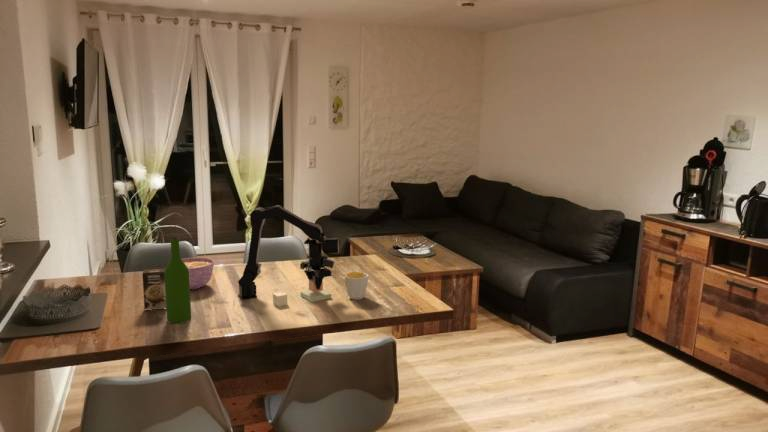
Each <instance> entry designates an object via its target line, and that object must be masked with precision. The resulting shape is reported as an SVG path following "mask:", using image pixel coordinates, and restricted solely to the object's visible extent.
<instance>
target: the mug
mask: <svg viewBox="0 0 768 432" xmlns="http://www.w3.org/2000/svg"><path fill="white" fill-rule="evenodd" d="M344 277H345V287H346V291H347V296H348V297H349V299H351V300H354V301H355V300H356V301H359V300H363V299H364V297H365V296H367V295H366V294H367V287H368V284H369V283H368V281H369V274H368V273H366V272H360V271H358V272H357V271H353V272H347V273H346V274H345V276H344Z"/></svg>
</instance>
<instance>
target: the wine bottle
mask: <svg viewBox="0 0 768 432" xmlns="http://www.w3.org/2000/svg"><path fill="white" fill-rule="evenodd" d="M180 252H181V251H180V238H178V237H172V238H170V255H171V258H170V260H169V262H168V264H167V265H166V267H165V268H166V269H165V272H164V276H165V293H166V309H165V310H166V320H168V321H169V322H173V323H179V324H182V323H181V322H185V321H188V320H189V321H190V319H191V320H192V310H191V308H192V306H191V290H190V285H189V270H188V267H187V266H186V265H185V263H184V262H183V261H182V260H181V259H182V258H181V253H180ZM168 321H167V322H168ZM189 321H188V322H189ZM169 322H168V323H169ZM173 323H172V324H173ZM185 323H186V322H185Z"/></svg>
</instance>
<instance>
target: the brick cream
mask: <svg viewBox="0 0 768 432" xmlns="http://www.w3.org/2000/svg"><path fill="white" fill-rule="evenodd" d="M272 298H273V299H272V304H273V305H275V306H276V307H281V306H286V305H288V294H287V293H285V292H284V291H280V292H274V293H272Z"/></svg>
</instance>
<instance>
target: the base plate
mask: <svg viewBox="0 0 768 432" xmlns="http://www.w3.org/2000/svg"><path fill="white" fill-rule="evenodd" d="M300 297H301V298H302V299H305V300H306V301H308V302H310V303H314V302H319V301H325V300H330V299H332V293H330V292H329V291H327V290H325V289H323V291H318V292H312V291H310V290H309V289H308V290H303V291H302V290H301V291H300Z"/></svg>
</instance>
